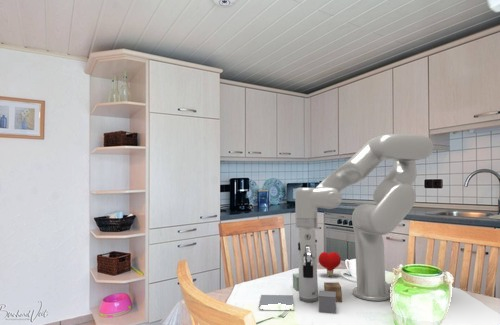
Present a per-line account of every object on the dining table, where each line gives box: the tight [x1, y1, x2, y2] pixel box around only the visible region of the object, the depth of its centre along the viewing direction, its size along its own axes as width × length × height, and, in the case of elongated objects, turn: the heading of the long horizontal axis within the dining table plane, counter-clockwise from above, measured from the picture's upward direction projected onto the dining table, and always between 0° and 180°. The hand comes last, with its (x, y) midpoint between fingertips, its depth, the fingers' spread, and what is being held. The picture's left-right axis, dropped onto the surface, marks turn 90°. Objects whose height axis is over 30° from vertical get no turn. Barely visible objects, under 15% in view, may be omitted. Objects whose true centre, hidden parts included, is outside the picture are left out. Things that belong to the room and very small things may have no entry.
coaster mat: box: [258, 294, 295, 307], centre depth 105 cm, size 11×11×1 cm
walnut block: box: [323, 281, 343, 303], centre depth 108 cm, size 5×5×5 cm
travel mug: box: [297, 239, 319, 303], centre depth 110 cm, size 6×7×20 cm
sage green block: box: [292, 272, 299, 292], centre depth 120 cm, size 5×5×5 cm
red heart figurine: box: [318, 251, 342, 277], centre depth 135 cm, size 9×7×10 cm
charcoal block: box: [318, 290, 337, 315], centre depth 100 cm, size 5×5×5 cm
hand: (307, 273), depth 110 cm, fingers open, 9 cm apart
